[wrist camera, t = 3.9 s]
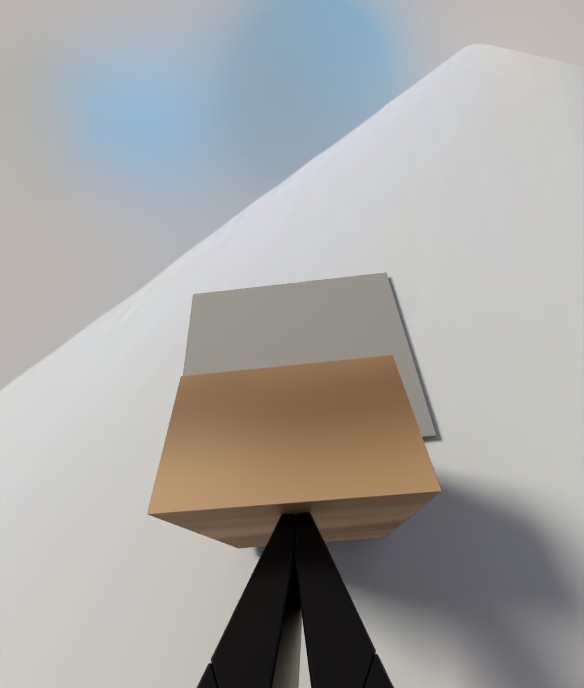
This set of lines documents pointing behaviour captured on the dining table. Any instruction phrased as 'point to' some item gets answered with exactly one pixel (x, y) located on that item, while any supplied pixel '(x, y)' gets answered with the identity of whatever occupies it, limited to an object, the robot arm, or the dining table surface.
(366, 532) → the walnut block
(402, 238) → the dining table surface
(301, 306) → the mat
